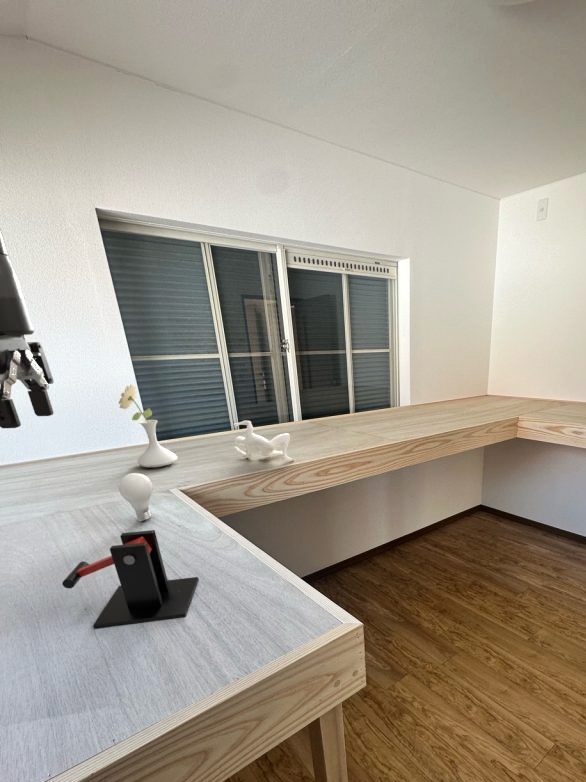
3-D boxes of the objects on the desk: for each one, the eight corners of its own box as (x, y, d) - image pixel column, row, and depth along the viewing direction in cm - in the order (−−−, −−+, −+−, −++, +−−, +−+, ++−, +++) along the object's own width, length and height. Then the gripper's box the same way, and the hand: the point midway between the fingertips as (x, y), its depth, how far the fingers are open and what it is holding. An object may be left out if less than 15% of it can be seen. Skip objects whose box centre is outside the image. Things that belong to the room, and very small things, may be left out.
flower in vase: (159, 458, 138) (140, 380, 128) (186, 461, 135) (169, 381, 124) (125, 470, 127) (101, 385, 117) (153, 473, 123) (132, 386, 113)
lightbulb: (138, 528, 89) (125, 480, 85) (122, 522, 92) (109, 475, 88) (166, 518, 94) (155, 472, 89) (150, 512, 97) (138, 467, 93)
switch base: (95, 634, 58) (69, 561, 53) (121, 593, 67) (100, 528, 62) (186, 622, 60) (169, 551, 56) (199, 584, 69) (185, 520, 65)
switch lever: (69, 592, 58) (57, 579, 56) (84, 573, 62) (74, 561, 61) (144, 561, 58) (134, 547, 57) (155, 544, 63) (145, 531, 61)
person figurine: (290, 421, 139) (233, 416, 131) (298, 437, 129) (237, 433, 122) (285, 456, 146) (231, 453, 138) (292, 473, 136) (235, 472, 128)
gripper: (-11, 298, 59) (28, 413, 65) (-96, 289, 46) (-37, 433, 53) (48, 298, 60) (81, 412, 67) (-18, 290, 47) (30, 431, 54)
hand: (29, 421), depth 60 cm, fingers open, 8 cm apart
